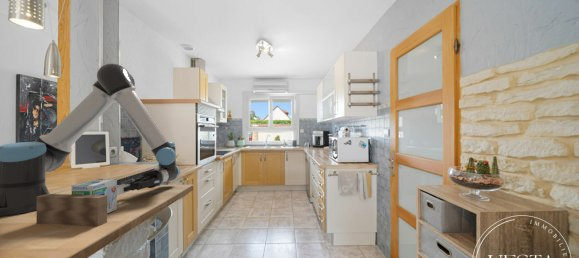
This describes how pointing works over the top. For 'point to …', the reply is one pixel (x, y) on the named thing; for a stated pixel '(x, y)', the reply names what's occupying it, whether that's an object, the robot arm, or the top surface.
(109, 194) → the light bulb box
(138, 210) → the top surface
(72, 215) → the walnut board
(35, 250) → the top surface
